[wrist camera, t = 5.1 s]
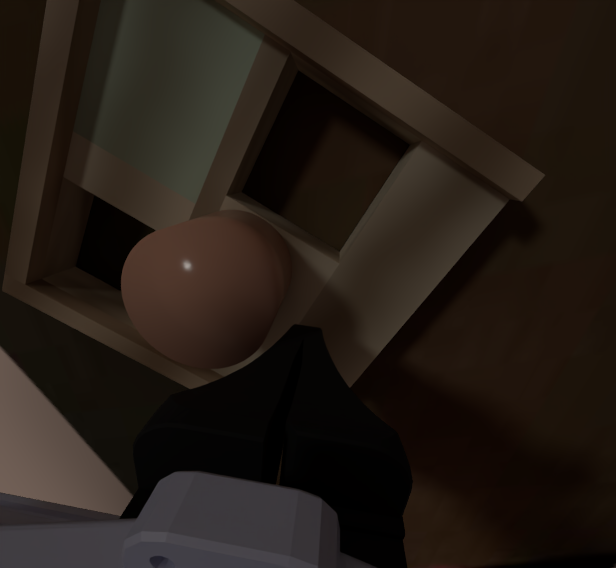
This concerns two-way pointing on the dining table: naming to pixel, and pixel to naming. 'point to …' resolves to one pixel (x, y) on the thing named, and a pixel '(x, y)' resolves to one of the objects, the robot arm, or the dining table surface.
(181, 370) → the wooden frame
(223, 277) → the brown rounded lump
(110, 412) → the dining table surface
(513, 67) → the dining table surface
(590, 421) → the dining table surface
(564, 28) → the dining table surface
